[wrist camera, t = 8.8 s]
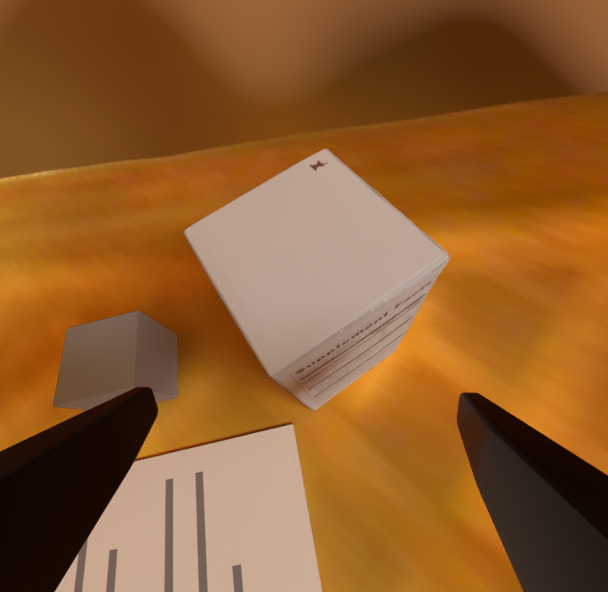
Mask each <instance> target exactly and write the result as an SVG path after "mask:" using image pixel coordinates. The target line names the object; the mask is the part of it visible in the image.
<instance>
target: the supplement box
mask: <svg viewBox="0 0 608 592" xmlns="http://www.w3.org/2000/svg"><path fill="white" fill-rule="evenodd" d="M184 235H185V237H186V239H187V241H188V243H189V245H190V247H191V249H192V250H193V252H194V254H195V255H196V257H197V259H198V261H199V262H200V264H201V266H202V268H203V269H204V271H205V273H206V274H207V276H208V278H209V280H210V281H211V283H212V285H213V287H214V288H215V290H216V292H217V293H218V295H219V297H220V298H221V300H222V302H223V303H224V305H225V307H226V308H227V310H228V312H229V313H230V315H231V316H232V318H233V320H234V321H235V323H236V325H237V326H238V328H239V330H240V331H241V333H242V335H243V336H244V338H245V340H246V341H247V343H248V345H249V346H250V348H251V350H252V351H253V353H254V354H255V356H256V357H257V359H258V360H259V362H260V364H261V365H262V367H263V368H264V370H265V371H266V373H267V374H268V376H269V377H270V378H272V379H273V380H274V381H276V382H277V383H278V384H279V385H280V386H282V387H283V388H284V389H286V390H287V391H288V392H289V393H291V394H292V395H293V396H294V397H295V398H297V399H298V400H299V401H300V402H302V403H303V404H305V405H306V406H307V407H308V408H310V409H311V410H313V411H315V410H317V409H318V408H319V407H320V406H322V405H323V404H324V403H326V402H327V401H328V400H330V399H331V398H332V397H334V396H335V395H337V394H338V393H339V392H341V391H342V390H343V389H345V388H346V387H347V386H349V385H350V384H351V383H353V382H354V381H355V380H357V379H358V378H360V377H361V376H362V375H364V374H365V373H366V372H368V371H369V370H370V369H372V368H373V367H375V366H376V365H377V364H379V363H380V362H381V361H383V360H384V359H385V358H387V357H388V356H389V355H391V354H392V353H393V352H394V351H395V350H396V348H397V347H398V345H399V343H400V342H401V340H402V339H403V337H404V335H405V334H406V332H407V330H408V328H409V326H410V325H411V323H412V321H413V319H414V318H415V316H416V314H417V312H418V310H419V309H420V307H421V305H422V303H423V302H424V300H425V298H426V296H427V294H428V293H429V291H430V289H431V287H432V286H433V284H434V282H435V281H436V279H437V277H438V276H439V274H440V273H441V271H442V270H443V269H444V267H445V266H446V264H447V263H448V261H449V255H448V254H447V252H446V251H445V250H444V249H443V248H442V247H441V246H440V245H438V244H437V243H436V242H435V241H434V240H433V239H432V238H430V237H429V236H428V235H427V234H425V233H424V232H423V231H422V230H420V229H419V228H418V227H417V226H416V225H415V224H414V223H412V222H411V221H410V220H409V219H408V218H407V217H405V216H404V215H403V214H402V213H401V212H400V211H398V210H397V209H396V208H395V207H394V206H393V205H391V204H390V203H389V202H388V201H387V200H386V199H385V198H383V197H382V196H381V194H379V193H378V192H377V191H376V190H375V189H373V188H372V187H371V186H369V185H368V184H367V183H366V182H365V181H363V180H362V179H361V178H360V177H359V176H357V175H356V174H355V173H354V172H353V171H352V170H350V169H349V168H348V167H347V166H346V165H345V164H344V163H342V162H341V161H340V160H339V159H338V158H337V157H335V156H334V155H333V154H332V153H331V152H330V151H329V150H328V149H323V150H321V151H319V152H317V153H315V154H313V155H311V156H310V157H308V158H306V159H304V160H302V161H300V162H299V163H297V164H295V165H293V166H292V167H290V168H288V169H287V170H285V171H283V172H281V173H280V174H278V175H276V176H275V177H273V178H271V179H270V180H268V181H266V182H264V183H263V184H261V185H259V186H258V187H256V188H254V189H253V190H251V191H249V192H247V193H246V194H244V195H242V196H240V197H239V198H237V199H235V200H234V201H232V202H230V203H229V204H227V205H225V206H223V207H222V208H220V209H219V210H217V211H215V212H213V213H212V214H210V215H208V216H206V217H204V218H203V219H201V220H199V221H198V222H196V223H195V224H193V225H192V226H190V227H189V228H187V229H186V230H185V231H184Z"/></svg>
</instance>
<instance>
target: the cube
mask: <svg viewBox="0 0 608 592" xmlns="http://www.w3.org/2000/svg"><path fill="white" fill-rule="evenodd" d="M136 387H150V388H151V389H152V390H153V393H154V396H155V400H156V403H157V402H161V401H165V400H169V399H173V398H177V397H178V373H177V334H176V333H174V332H173V331H171V330H170V329H168V328H166V327H165V326H163V325H161V324H160V323H158V322H157V321H155V320H153V319H152V318H150V317H148V316H147V315H145V314H144V313H142V312H140V311H139V310H138V311H134V312H130V313H126V314H122V315H118V316H114V317H110V318H106V319H103V320H99V321H95V322H91V323H87V324H83V325H79V326H75V327H71V328H67V331H66V336H65V342H64V347H63V353H62V359H61V364H60V370H59V375H58V381H57V387H56V392H55V398H54V403H53V407H62V408H71V409H80V410H89V409H91V408H93V407H95V406H97V405H100V404H102V403H104V402H106V401H108V400H110V399H112V398H114V397H116V396H119V395H121V394H123V393H125V392H127V391H129V390H131V389H133V388H136Z"/></svg>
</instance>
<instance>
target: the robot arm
mask: <svg viewBox="0 0 608 592" xmlns="http://www.w3.org/2000/svg"><path fill="white" fill-rule="evenodd" d="M157 414H158V407H157V403H156V400H155V396H154V393H153V390H152V389H151V388H150V387H136V388H133V389H131V390H129V391H127V392H125V393H123V394H121V395H119V396H116V397H114V398H112V399H110V400H108V401H106V402H104V403H102V404H100V405H97V406H95V407H93V408H91V409H89V410H87V411H85V412H83V413H81V414H78V415H76V416H74V417H72V418H70V419H68V420H66V421H64V422H62V423H59V424H57V425H55V426H53V427H51V428H49V429H47V430H45V431H43V432H40V433H38V434H36V435H34V436H32V437H30V438H28V439H26V440H24V441H21V442H19V443H17V444H15V445H13V446H11V447H9V448H7V449H5V450H2V451H0V592H55V591H56V589H57V588H58V586H59V584H60V583H61V581H62V579H63V578H64V576H65V574H66V573H67V571H68V570H69V568H70V566H71V565H72V563H73V561H74V560H75V558H76V557H77V555H78V553H79V552H80V550H81V548H82V547H83V545H84V543H85V542H86V540H87V539H88V537H89V535H90V534H91V532H92V530H93V529H94V527H95V526H96V524H97V522H98V521H99V519H100V517H101V516H102V514H103V513H104V511H105V509H106V508H107V506H108V504H109V503H110V501H111V499H112V498H113V496H114V495H115V493H116V491H117V490H118V488H119V486H120V485H121V483H122V482H123V480H124V478H125V477H126V475H127V473H128V472H129V470H130V468H131V467H132V465H133V463H134V461H135V459H136V457H137V455H138V453H139V451H140V449H141V447H142V445H143V443H144V441H145V439H146V437H147V435H148V433H149V431H150V429H151V427H152V425H153V423H154V421H155V419H156V417H157ZM457 424H458V428H459V431H460V435H461V438H462V441H463V444H464V447H465V450H466V453H467V456H468V459H469V462H470V466H471V469H472V472H473V475H474V478H475V481H476V484H477V486H478V489H479V491H480V493H481V496H482V498H483V500H484V503H485V505H486V507H487V510H488V512H489V514H490V516H491V519H492V521H493V523H494V525H495V528H496V530H497V532H498V535H499V537H500V539H501V541H502V544H503V546H504V548H505V550H506V553H507V555H508V557H509V560H510V562H511V564H512V566H513V569H514V571H515V573H516V575H517V578H518V580H519V582H520V584H521V587H522V589H523V591H524V592H608V475H606V474H605V473H603V472H602V471H600V470H598V469H597V468H595V467H594V466H592V465H591V464H589V463H587V462H586V461H584V460H583V459H581V458H579V457H578V456H576V455H575V454H573V453H572V452H570V451H568V450H567V449H565V448H564V447H562V446H561V445H559V444H557V443H556V442H554V441H553V440H551V439H550V438H548V437H546V436H545V435H543V434H542V433H540V432H539V431H537V430H535V429H534V428H532V427H531V426H529V425H528V424H526V423H524V422H523V421H521V420H520V419H518V418H517V417H515V416H513V415H512V414H510V413H509V412H507V411H506V410H504V409H502V408H501V407H499V406H498V405H496V404H495V403H493V402H491V401H490V400H488V399H487V398H485V397H484V396H482V395H480V394H479V393H461V394H460V397H459V404H458V412H457Z"/></svg>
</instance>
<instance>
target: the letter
mask: <svg viewBox="0 0 608 592" xmlns="http://www.w3.org/2000/svg"><path fill="white" fill-rule="evenodd" d="M55 592H322V587H321V581H320V576H319V570H318V564H317V558H316V553H315V547H314V541H313V535H312V530H311V524H310V518H309V512H308V507H307V501H306V495H305V489H304V484H303V478H302V472H301V467H300V461H299V455H298V449H297V444H296V438H295V432H294V426H293V424H291V425H287V426H283V427H279V428H274V429H270V430H266V431H262V432H258V433H253V434H249V435H245V436H241V437H236V438H232V439H228V440H224V441H220V442H215V443H211V444H207V445H203V446H198V447H194V448H190V449H186V450H182V451H177V452H173V453H169V454H165V455H161V456H156V457H152V458H148V459H144V460H139V461H135V462H134V463H133V465H132V467H131V468H130V470H129V472H128V473H127V475H126V477H125V478H124V480H123V482H122V483H121V485H120V486H119V488H118V490H117V491H116V493H115V495H114V496H113V498H112V499H111V501H110V503H109V504H108V506H107V508H106V509H105V511H104V513H103V514H102V516H101V517H100V519H99V521H98V522H97V524H96V526H95V527H94V529H93V530H92V532H91V534H90V535H89V537H88V539H87V540H86V542H85V543H84V545H83V547H82V548H81V550H80V552H79V553H78V555H77V557H76V558H75V560H74V561H73V563H72V565H71V566H70V568H69V570H68V571H67V573H66V574H65V576H64V578H63V579H62V581H61V583H60V584H59V586H58V588H57V589H56V591H55Z"/></svg>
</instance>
